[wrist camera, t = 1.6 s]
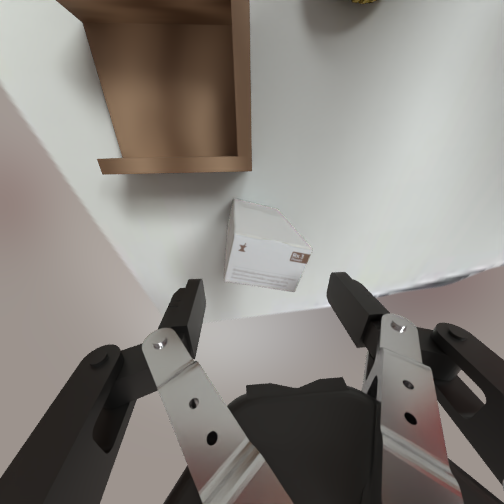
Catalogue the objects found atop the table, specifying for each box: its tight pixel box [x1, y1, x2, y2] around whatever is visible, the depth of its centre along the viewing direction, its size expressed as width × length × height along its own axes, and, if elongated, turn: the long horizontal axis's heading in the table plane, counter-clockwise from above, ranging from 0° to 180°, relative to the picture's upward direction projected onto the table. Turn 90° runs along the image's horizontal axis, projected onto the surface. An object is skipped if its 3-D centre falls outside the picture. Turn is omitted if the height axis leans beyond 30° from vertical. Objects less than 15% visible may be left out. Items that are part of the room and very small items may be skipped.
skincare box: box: [224, 199, 313, 292], centre depth 19 cm, size 6×4×12 cm
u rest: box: [56, 0, 252, 174], centre depth 16 cm, size 13×12×5 cm
